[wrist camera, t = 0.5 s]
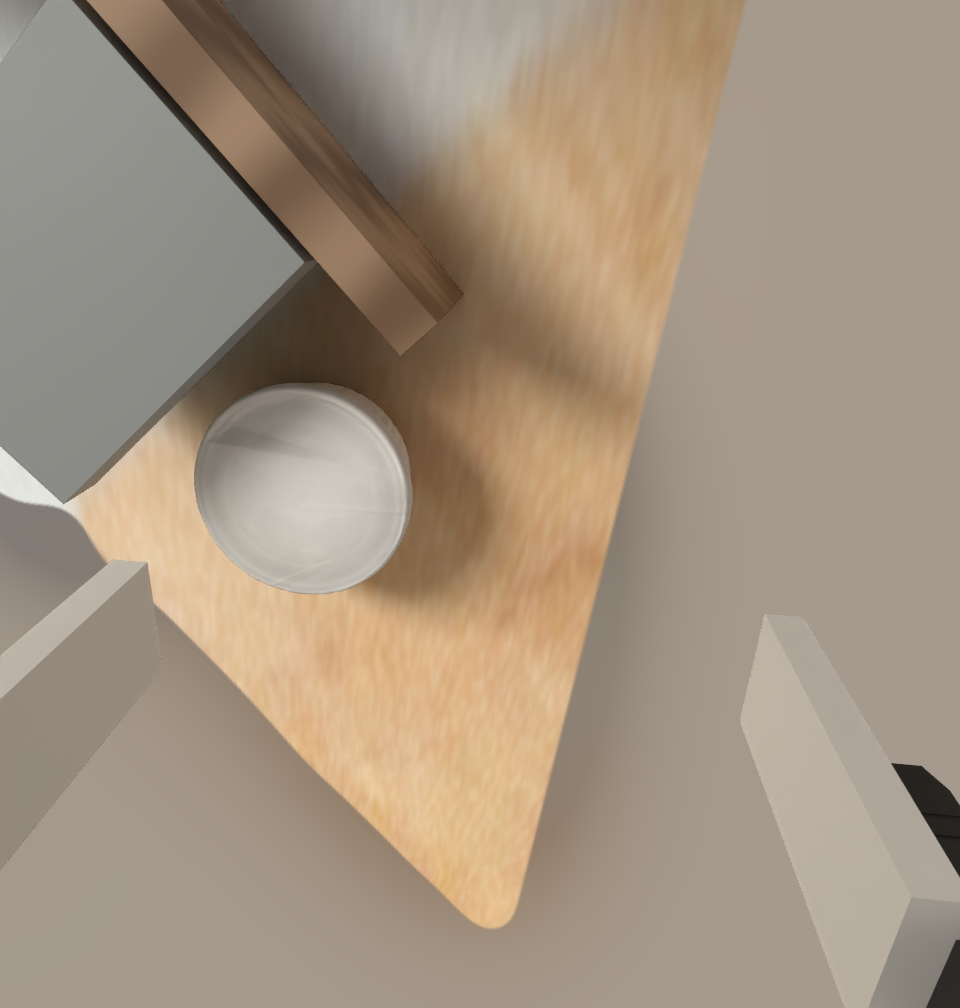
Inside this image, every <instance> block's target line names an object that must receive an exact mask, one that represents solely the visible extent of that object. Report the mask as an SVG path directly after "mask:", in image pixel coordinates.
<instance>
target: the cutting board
mask: <svg viewBox="0 0 960 1008" xmlns="http://www.w3.org/2000/svg"><path fill="white" fill-rule="evenodd" d="M87 1H88V2H89V3H90V4H91V6H92V7H93V8H94V9H95V10H96V11H97V12H98V14H99V15H100V16H101V17H102V18H103V19H104V20H105V21H106V23H107V24H108V25H109V26H110V27H111V28H112V29H113V31H114V32H115V33H116V34H117V35H118V36H119V37H120V38H121V40H122V41H123V42H124V43H125V44H126V45H127V46H128V48H129V49H130V50H131V51H132V52H133V53H134V54H135V56H136V57H137V58H138V59H139V60H140V61H141V62H142V63H143V65H144V66H145V67H146V68H147V69H148V70H149V71H150V73H151V74H152V75H153V76H154V77H155V78H156V79H157V80H158V82H159V83H160V84H161V85H162V86H163V87H164V88H165V90H166V91H167V92H168V93H169V94H170V95H171V96H172V97H173V99H174V100H175V101H176V102H177V103H178V104H179V105H180V107H181V108H182V109H183V110H184V111H185V112H186V113H187V114H188V116H189V117H190V118H191V119H192V120H193V121H194V122H195V124H196V125H197V126H198V127H199V128H200V129H201V130H202V132H203V133H204V134H205V135H206V136H207V137H208V138H209V139H210V141H211V142H212V143H213V144H214V145H215V146H216V147H217V149H218V150H219V151H220V152H221V153H222V154H223V155H224V156H225V158H226V159H227V160H228V161H229V162H230V163H231V164H232V166H233V167H234V168H235V169H236V170H237V171H238V172H239V173H240V175H241V176H242V177H243V178H244V179H245V180H246V181H247V183H248V184H249V185H250V186H251V187H252V188H253V189H254V190H255V192H256V193H257V194H258V195H259V196H260V197H261V198H262V200H263V201H264V202H265V203H266V204H267V205H268V206H269V208H270V209H271V210H272V211H273V212H274V213H275V214H276V215H277V217H278V218H279V219H280V220H281V221H282V222H283V223H284V225H285V226H286V227H287V228H288V229H289V230H290V231H291V232H292V234H293V235H294V236H295V237H296V238H297V239H298V240H299V242H300V243H301V244H302V245H303V246H304V247H305V248H306V249H307V251H308V252H309V253H310V254H311V255H312V256H313V257H314V259H315V260H316V261H317V262H318V263H319V264H320V265H321V267H322V268H323V269H324V270H325V271H326V272H327V273H328V274H329V276H330V277H331V278H332V279H333V280H334V281H335V282H336V284H337V285H338V286H339V287H340V288H341V289H342V290H343V291H344V293H345V294H346V295H347V296H348V297H349V298H350V299H351V301H352V302H353V303H354V304H355V305H356V306H357V307H358V308H359V310H360V311H361V312H362V313H363V314H364V315H365V316H366V318H367V319H368V320H369V321H370V322H371V323H372V324H373V325H374V327H375V328H376V329H377V330H378V331H379V332H380V333H381V335H382V336H383V337H384V338H385V339H386V340H387V341H388V343H389V344H390V345H391V346H392V347H393V348H394V349H395V350H396V352H397V353H398V354H399V355H400V356H401V355H402V354H403V353H404V352H406V351H407V350H408V349H409V348H410V347H411V346H412V345H413V344H414V343H416V342H417V341H418V340H419V339H420V338H421V337H422V336H423V335H425V334H426V333H427V332H428V331H429V330H430V329H431V328H432V327H434V326H435V325H436V324H437V323H438V322H439V321H440V320H441V319H442V317H443V316H444V315H445V314H446V313H447V312H448V311H449V310H450V309H451V308H452V306H453V305H454V304H455V303H456V302H457V301H458V300H459V299H460V298H461V297H462V295H463V294H464V293H463V292H462V291H461V290H460V289H459V287H458V286H457V285H456V284H455V283H454V281H453V280H452V279H451V278H450V277H449V275H448V274H447V273H446V272H445V271H444V269H443V268H442V267H441V266H440V265H439V263H438V262H437V261H436V260H435V259H434V257H433V256H432V255H431V254H430V253H429V251H428V250H427V249H426V248H425V247H424V245H423V244H422V243H421V242H420V241H419V239H418V238H417V237H416V236H415V235H414V233H413V232H412V231H411V230H410V229H409V227H408V226H407V225H406V224H405V223H404V221H403V220H402V219H401V218H400V217H399V215H398V214H397V213H396V212H395V211H394V209H393V208H392V207H391V206H390V205H389V203H388V202H387V201H386V200H385V199H384V197H383V196H382V195H381V194H380V193H379V191H378V190H377V189H376V188H375V187H374V185H373V184H372V183H371V182H370V181H369V179H368V178H367V177H366V176H365V175H364V173H363V172H362V171H361V170H360V169H359V167H358V166H357V165H356V164H355V163H354V161H353V160H352V159H351V158H350V157H349V155H348V154H347V153H346V152H345V151H344V149H343V148H342V147H341V146H340V145H339V143H338V142H337V141H336V140H335V139H334V137H333V136H332V135H331V134H330V133H329V131H328V130H327V129H326V128H325V127H324V125H323V124H322V123H321V122H320V121H319V119H318V118H317V117H316V116H315V115H314V113H313V112H312V111H311V110H310V109H309V107H308V106H307V105H306V104H305V103H304V101H303V100H302V99H301V98H300V97H299V95H298V94H297V93H296V92H295V91H294V89H293V88H292V87H291V86H290V85H289V83H288V82H287V81H286V80H285V79H284V77H283V76H282V75H281V74H280V73H279V71H278V70H277V69H276V68H275V67H274V65H273V64H272V63H271V62H270V61H269V59H268V58H267V57H266V56H265V55H264V53H263V52H262V51H261V50H260V49H259V47H258V46H257V45H256V44H255V43H254V41H253V40H252V39H251V38H250V37H249V35H248V34H247V33H246V32H245V31H244V29H243V28H242V27H241V26H240V25H239V23H238V22H237V21H236V20H235V19H234V17H233V16H232V15H231V14H230V13H229V11H228V10H227V9H226V8H225V7H224V5H223V4H222V3H221V2H220V1H219V0H87Z"/></svg>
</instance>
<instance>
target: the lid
mask: <svg viewBox="0 0 960 1008" xmlns="http://www.w3.org/2000/svg"><path fill="white" fill-rule="evenodd" d="M317 263H318V262H317V261H316V260H315V259H314V257H313V256H312V255H311V254H310V253H309V252H308V251H307V249H306V248H305V247H304V246H303V245H302V244H301V243H300V242H299V240H298V239H297V238H296V237H295V236H294V235H293V234H292V232H291V231H290V230H289V229H288V228H287V227H286V226H285V225H284V223H283V222H282V221H281V220H280V219H279V218H278V217H277V215H276V214H275V213H274V212H273V211H272V210H271V209H270V208H269V206H268V205H267V204H266V203H265V202H264V201H263V200H262V198H261V197H260V196H259V195H258V194H257V193H256V192H255V190H254V189H253V188H252V187H251V186H250V185H249V184H248V183H247V181H246V180H245V179H244V178H243V177H242V176H241V175H240V173H239V172H238V171H237V170H236V169H235V168H234V167H233V166H232V164H231V163H230V162H229V161H228V160H227V159H226V158H225V156H224V155H223V154H222V153H221V152H220V151H219V150H218V149H217V147H216V146H215V145H214V144H213V143H212V142H211V141H210V139H209V138H208V137H207V136H206V135H205V134H204V133H203V132H202V130H201V129H200V128H199V127H198V126H197V125H196V124H195V122H194V121H193V120H192V119H191V118H190V117H189V116H188V114H187V113H186V112H185V111H184V110H183V109H182V108H181V107H180V105H179V104H178V103H177V102H176V101H175V100H174V99H173V97H172V96H171V95H170V94H169V93H168V92H167V91H166V90H165V88H164V87H163V86H162V85H161V84H160V83H159V82H158V80H157V79H156V78H155V77H154V76H153V75H152V74H151V73H150V71H149V70H148V69H147V68H146V67H145V66H144V65H143V63H142V62H141V61H140V60H139V59H138V58H137V57H136V56H135V54H134V53H133V52H132V51H131V50H130V49H129V48H128V46H127V45H126V44H125V43H124V42H123V41H122V40H121V38H120V37H119V36H118V35H117V34H116V33H115V32H114V31H113V29H112V28H111V27H110V26H109V25H108V24H107V23H106V21H105V20H104V19H103V18H102V17H101V16H100V15H99V14H98V12H97V11H96V10H95V9H94V8H93V7H92V6H91V4H90V3H89V2H88V1H87V0H46V1H45V2H44V4H43V5H42V6H41V8H40V9H39V11H38V12H37V13H36V15H35V16H34V18H33V19H32V20H31V22H30V23H29V25H28V26H27V27H26V29H25V30H24V32H23V33H22V34H21V36H20V37H19V39H18V40H17V41H16V43H15V44H14V45H13V47H12V48H11V50H10V51H9V52H8V54H7V55H6V57H5V58H4V59H3V61H2V62H1V64H0V446H1V447H2V448H3V449H4V450H5V451H6V452H7V453H8V454H9V455H10V456H12V457H13V458H14V459H15V460H16V461H17V462H18V463H19V464H20V465H21V466H22V467H24V468H25V469H26V470H27V471H28V472H29V473H30V474H31V475H32V476H33V477H34V478H36V479H37V480H38V481H39V482H40V483H41V484H42V485H43V486H44V487H45V488H46V489H48V490H49V491H50V492H51V493H52V494H53V495H54V496H55V497H56V498H57V499H58V500H60V501H61V502H62V503H63V504H65V503H66V502H68V501H69V500H71V499H73V498H74V497H76V496H77V495H79V494H81V493H82V492H84V491H85V490H87V489H89V488H90V487H92V486H93V485H95V484H96V483H97V482H98V481H99V480H100V479H101V478H102V477H103V476H104V475H105V474H106V473H107V472H108V471H109V470H110V469H111V468H112V467H113V466H114V465H115V464H116V463H117V462H118V461H119V460H120V459H121V458H122V457H123V456H124V455H125V454H126V453H127V452H128V451H129V450H130V449H131V448H132V447H133V446H134V445H135V444H136V443H137V442H138V441H139V440H140V439H141V438H142V437H143V436H144V435H145V434H146V433H147V432H148V431H149V430H150V429H151V428H152V427H153V426H154V425H155V424H156V423H157V422H158V421H159V420H160V419H161V418H162V417H163V416H164V415H165V414H166V413H167V412H168V411H169V410H170V409H171V408H172V407H173V406H174V405H175V404H176V403H177V402H178V401H179V400H180V399H181V398H182V397H183V396H184V395H185V394H186V393H187V392H188V391H189V390H190V389H191V388H192V387H193V386H194V385H195V384H196V383H197V382H198V381H200V380H201V379H202V378H203V377H204V376H205V375H206V374H207V373H208V372H209V371H210V370H211V369H212V368H213V367H214V366H215V365H216V364H217V363H218V362H219V361H220V360H221V359H222V358H223V357H224V356H225V355H226V354H227V353H228V352H229V351H230V350H231V349H232V348H233V347H234V346H235V345H236V344H237V343H238V342H239V341H240V340H241V339H242V338H243V337H244V336H245V335H246V334H247V333H248V332H249V331H250V330H251V329H252V328H253V327H254V326H255V325H256V324H257V323H258V322H259V321H260V320H261V319H262V318H263V317H264V316H265V315H266V314H267V313H268V312H269V311H270V310H271V309H272V308H273V307H274V306H275V305H276V304H277V303H278V302H279V301H280V300H281V299H282V298H283V297H284V296H285V295H286V294H287V293H288V292H289V291H290V290H291V289H292V288H293V287H294V286H295V285H296V284H297V283H298V282H299V281H300V280H301V279H302V278H303V277H304V276H305V275H306V274H307V273H308V272H309V271H310V270H311V269H312V268H313V267H314V266H315V265H316V264H317Z"/></svg>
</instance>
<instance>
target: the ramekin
mask: <svg viewBox="0 0 960 1008" xmlns="http://www.w3.org/2000/svg"><path fill="white" fill-rule="evenodd" d="M410 475H411V469H410V465H409V456H408V454H407V448H406V446H405V444H404V442H403V438H402V436H401V435H400V433H399V432H398V429H397V427H396V426H395V425H394V424H393V423H392V421H391V419H390V418H389V417H388V416H387V415H386V414H385V413H384V412H383V410H382V409H381V408H380V407H378V406H377V405H376V404H375V403H374V402H373V401H371V400H369V399H367V398H366V397H365V396H364V395H362V394H359V393H357V392H355V391H353V390H351V389H348V388H344V387H342V386H339V385H333V384H329V383H318V382H313V383H283V384H276V385H272V386H268V387H264V388H261V389H258V390H255V391H253V392H251V393H249V394H247V395H245V396H243V397H241V398H240V399H238V400H237V401H235V402H234V403H232V404H231V405H230V406H229V407H227V408H226V409H225V410H224V411H223V412H222V413H221V414H220V415H219V416H218V417H217V418H216V419H215V420H214V422H213V423H212V424H211V426H210V427H209V429H208V430H207V432H206V434H205V436H204V438H203V440H202V442H201V445H200V448H199V450H198V454H197V458H196V463H195V470H194V486H195V493H196V499H197V504H198V508H199V511H200V514H201V516H202V519H203V521H204V523H205V525H206V527H207V529H208V531H209V533H210V535H211V536H212V538H213V540H214V541H215V542H216V544H217V545H218V547H219V548H220V549H221V550H222V551H223V553H224V554H225V555H226V556H227V557H228V558H229V559H230V560H231V561H232V562H233V563H235V564H236V565H237V566H238V567H239V568H241V569H242V570H243V571H245V572H246V573H247V574H249V575H250V576H252V577H253V578H255V579H256V580H258V581H261V582H263V583H266V584H268V585H270V586H273V587H275V588H278V589H282V590H286V591H289V592H294V593H301V594H329V593H333V592H339V591H343V590H346V589H349V588H352V587H354V586H356V585H358V584H360V583H362V582H363V581H365V580H367V579H368V578H370V577H372V576H373V575H375V574H376V573H377V572H378V571H379V570H381V569H382V568H383V567H384V566H385V565H386V563H387V562H388V561H389V560H390V559H391V558H392V556H393V555H394V553H395V552H396V550H397V549H398V547H399V545H400V544H401V542H402V540H403V537H404V535H405V533H406V530H407V527H408V524H409V520H410V516H411V510H412V500H413V491H412V482H411V476H410Z"/></svg>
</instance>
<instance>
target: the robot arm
mask: <svg viewBox="0 0 960 1008" xmlns="http://www.w3.org/2000/svg"><path fill="white" fill-rule="evenodd" d="M162 669H163V666H162V658H161V651H160V645H159V638H158V631H157V625H156V618H155V612H154V604H153V597H152V591H151V584H150V577H149V570H148V564H147V562H135V561H123V560H112V561H111V562H110V563H109V564H107V565H106V566H105V567H104V568H103V569H102V570H100V571H99V572H98V573H97V574H96V575H95V576H93V577H92V578H91V579H90V580H89V581H87V582H86V583H85V584H84V585H83V586H82V587H80V588H79V589H78V590H77V591H76V592H74V593H73V594H72V595H71V596H70V597H69V598H67V599H66V600H65V601H64V602H63V603H62V604H61V605H59V606H58V607H57V608H56V609H54V610H53V611H52V612H51V613H50V614H49V615H47V616H46V617H45V618H44V619H43V620H42V621H40V622H39V623H38V624H37V625H36V626H35V627H33V628H32V629H31V630H30V631H29V632H27V633H26V634H25V635H24V636H23V637H21V638H20V639H19V640H18V641H17V642H16V643H14V644H13V645H12V646H11V647H10V648H9V649H7V650H6V651H5V652H4V653H3V654H2V655H0V870H1V869H2V868H3V866H4V865H5V864H6V863H7V861H8V860H9V859H10V857H11V856H12V855H13V854H14V853H15V851H16V850H17V849H18V848H19V847H20V845H21V844H22V843H23V842H24V840H25V839H26V838H27V836H28V835H29V834H30V833H31V832H32V830H33V829H34V828H35V827H36V825H37V824H38V823H39V822H40V820H41V819H42V818H43V817H44V815H45V814H46V813H47V812H48V810H49V809H50V808H51V806H52V805H53V804H54V803H55V802H56V801H57V799H58V798H59V797H60V796H61V794H62V793H63V792H64V791H65V789H66V788H67V787H68V786H69V784H70V783H71V782H72V781H73V779H74V778H75V777H76V776H77V774H78V773H79V772H80V771H81V769H82V768H83V767H84V766H85V765H86V763H87V762H88V761H89V760H90V758H91V757H92V756H93V755H94V753H95V752H96V751H97V749H98V748H99V747H100V746H101V745H102V743H103V742H104V741H105V740H106V738H107V737H108V736H109V735H110V733H111V732H112V731H113V730H114V729H115V727H116V726H117V725H118V723H119V722H120V721H121V720H122V718H123V717H124V716H125V715H126V714H127V712H128V711H129V710H130V709H131V707H132V706H133V705H134V704H135V702H136V701H137V700H138V699H139V697H140V696H141V695H142V694H143V692H144V691H145V690H146V689H147V688H148V686H149V685H150V684H151V683H152V681H153V680H154V679H155V678H156V676H157V675H158V674H159V673H160V671H161V670H162ZM740 722H741V725H742V728H743V731H744V734H745V736H746V739H747V742H748V744H749V747H750V750H751V753H752V756H753V758H754V761H755V764H756V766H757V769H758V772H759V775H760V778H761V780H762V783H763V786H764V788H765V791H766V794H767V797H768V799H769V802H770V805H771V808H772V810H773V813H774V816H775V818H776V821H777V824H778V826H779V830H780V832H781V835H782V838H783V841H784V843H785V846H786V848H787V851H788V854H789V857H790V860H791V862H792V865H793V868H794V871H795V873H796V876H797V879H798V882H799V884H800V887H801V890H802V892H803V895H804V898H805V901H806V903H807V906H808V909H809V912H810V914H811V917H812V920H813V922H814V925H815V928H816V931H817V934H818V936H819V939H820V942H821V945H822V947H823V950H824V953H825V956H826V958H827V961H828V964H829V966H830V969H831V972H832V975H833V977H834V980H835V983H836V985H837V988H838V991H839V994H840V997H841V999H842V1002H843V1005H844V1008H960V805H959V804H958V802H957V801H956V799H955V798H954V796H953V795H952V793H951V792H950V790H948V789H947V788H946V787H945V786H944V785H943V784H942V783H940V782H939V781H938V780H937V779H936V778H935V777H933V776H932V775H931V774H930V773H929V772H928V771H926V770H925V769H924V768H923V767H922V766H915V765H904V764H894V763H890V761H889V759H888V758H887V756H886V754H885V753H884V751H883V749H882V748H881V746H880V745H879V743H878V741H877V740H876V738H875V736H874V734H873V733H872V731H871V729H870V728H869V726H868V725H867V723H866V721H865V719H864V718H863V716H862V715H861V713H860V711H859V709H858V708H857V706H856V705H855V703H854V701H853V700H852V698H851V696H850V695H849V693H848V691H847V690H846V688H845V686H844V685H843V683H842V681H841V680H840V678H839V676H838V675H837V673H836V672H835V670H834V668H833V666H832V665H831V663H830V661H829V660H828V658H827V657H826V655H825V653H824V651H823V650H822V648H821V647H820V645H819V643H818V641H817V640H816V638H815V636H814V635H813V633H812V632H811V630H810V628H809V626H808V625H807V623H806V622H805V620H804V618H803V617H797V616H785V615H773V614H765V615H764V620H763V624H762V628H761V633H760V637H759V641H758V645H757V650H756V654H755V658H754V663H753V667H752V671H751V676H750V680H749V685H748V688H747V693H746V697H745V701H744V706H743V710H742V714H741V719H740Z"/></svg>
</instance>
